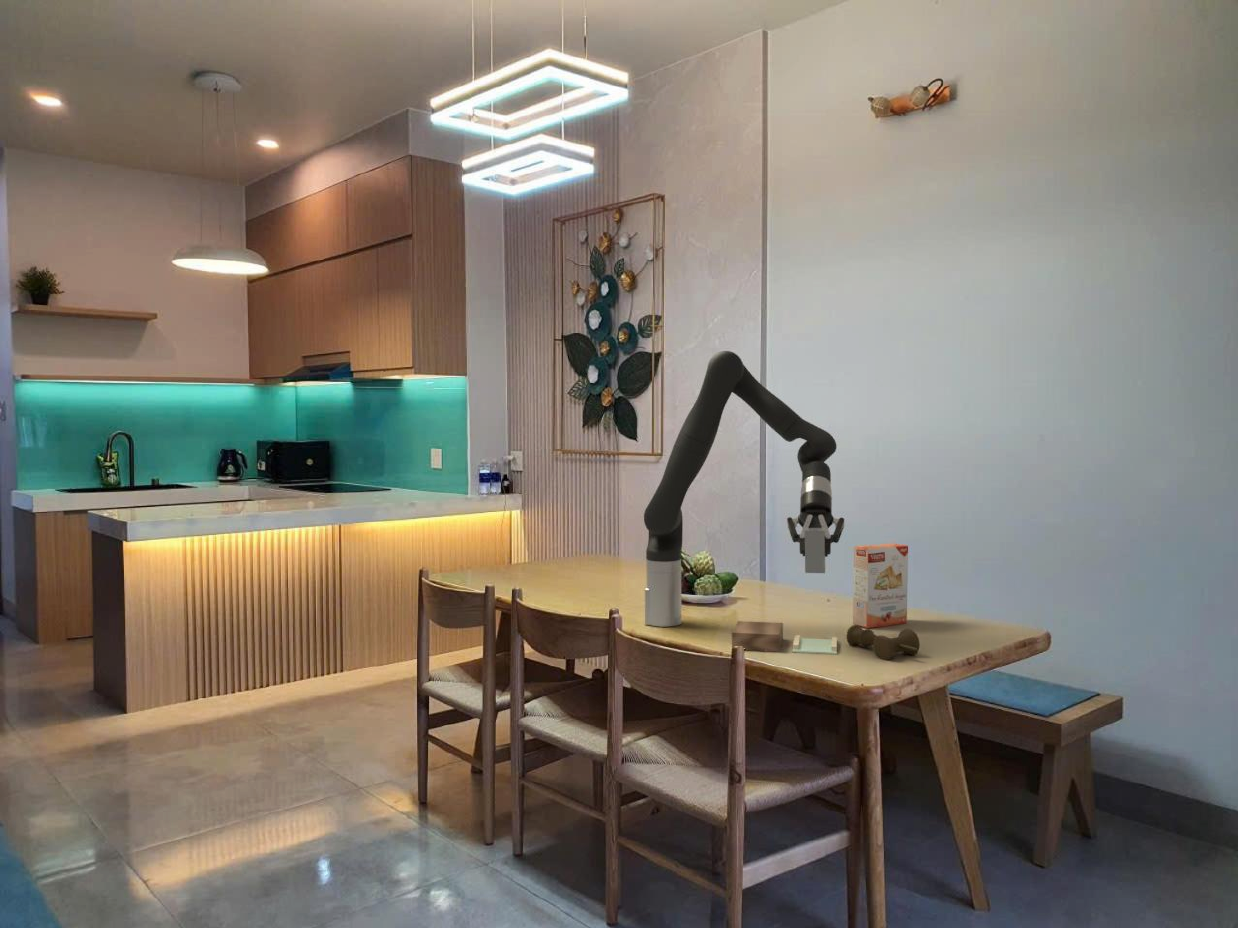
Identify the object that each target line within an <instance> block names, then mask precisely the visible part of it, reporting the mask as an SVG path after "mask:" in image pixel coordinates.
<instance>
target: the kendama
mask: <svg viewBox="0 0 1238 928" xmlns="http://www.w3.org/2000/svg"><path fill="white" fill-rule="evenodd" d="M846 640H847V641H846V642H847V643H848V645H849V646H852V647H855V646H856V647H857V646H861V647H863V648H866V649H867V648H870V647H871V646H872V648H873V652H874V654H875V655H874V656H876V658H878V659H881V660H883V661H888V660H890V659H891V658H892V657H893V655H895V654H896V653H904V654H906V655H908V656H915V655H917V654H918V652H919V650H920V644H921V643H920V639H919V636H918V635H917V633H916V632H915V631H914V630H912V629H910V628H909V629H908V628H904V629H903V630H901V631H900V632H899V634H898V636H895V637H889V636H886V635H876V634H875V633H874V631H873V630H871V629H870V628H865V629H863V627H861V626H858V625H855V624H853V625H851V626H850V627H848V629H847V632H846Z"/></svg>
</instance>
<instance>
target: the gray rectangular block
mask: <svg viewBox="0 0 1238 928" xmlns="http://www.w3.org/2000/svg"><path fill="white" fill-rule="evenodd" d="M825 573H826V557H825V528H805V556H804V574H825Z"/></svg>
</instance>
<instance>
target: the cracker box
mask: <svg viewBox="0 0 1238 928" xmlns="http://www.w3.org/2000/svg"><path fill="white" fill-rule="evenodd" d="M853 555H854V556H853V605H852V606H853V607H852V609H853V611H852V612H853V613H852V620H853V621H852V623H853V624H852V625H858V626H860V627H861V628H864V629H870V628H871V629H872V628H879V627H886V626H893V625H894V626H895V625H902V624H907V623H908V581H909V579H908V576H909V574H908V572H909V571H908V570H909V568H908V567H909V545H906V544H902V543H896V542H894V543H891V542H890V543H881V544H869V545H866V544H865V545H855V546H854V548H853Z"/></svg>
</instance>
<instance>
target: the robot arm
mask: <svg viewBox="0 0 1238 928" xmlns="http://www.w3.org/2000/svg"><path fill="white" fill-rule="evenodd" d="M703 379H704V380H703V382H702V385H701V388H700V391H699V394H698V395H697V397H696V400H695V402H694V404H693V406H692V407H691V409H690V411H689V412H688V414H687V416H686V418H685V420H684V422H683V424H682V426H681V427H680V430H679V433H678V434H677V437H676V439H675V442H674V444H673V447H672V451H671V452H670V455H669V458H668V460H667V464H666V466H665V470H664V473H663V476H662V478H661V481H660V482H659V485H658V487H657V488H656V490H655V492H654V494H653V496H652V497H651V499H650V500H649V503H648V505H647V506H646V508H645V510H644V513H643V521H644V526H645V527H646V530H648V542H647V547H646V551H645V552H646V554H645V557H646V564H645V565H646V588H645V589H644V626H645V625H647V626H651V627H652V626H653V627H661V628H662V627H665V628H666V627H676V626H679V625H681V624H682V615H683V614H682V549H683V524H684V523H683V520H684V519H683V511H682V506H683V503H684V499H685V498H686V494H687V493H688V491H689V488H690V486H691V485H692V483H693V482H694V481H695V479H696V477H697V476H698V474H699V473H700V471H701V469H702V467H703V466H704V464H705V462H706V461H707V458H708V456H709V455H710V451H711V449H712V446H713V445H714V442H715V439H716V436H717V434H718V430H719V427H720V423H721V420H722V415H723V413H724V410H725V407H726V405H727V403H728V401H729V399H730V397H731V396H732V394H734V395H735V396H737V397H738V398H739V399H740V400H742V401H743V402H745V404H747V405H748V407H750V408H751V409H752V410H753V412H755V413H756V414H757V416H759V417H760V418H761V420H762V421H764V422H765V423H766V424H767V425H768V426H769V428H771V429H772V430H773V431H774V432H775V433H776V434H778V435H779V436H780V437H781V438H782V439H784V441H786V442H790V443H791V442H794V441H795V440H797V439H801V440H804V441H805V442H803V444H802V445H801V446H800V447H799V449H798V450H797V455H796V456H797V462H798V465H799V468H800V471H801V473H802V474H801V476H802V477H801V487H800V502H799V504H800V507H799V515H798V516H797V517H796V518H792V516H791V517H787V518H786V523H787V528H788V530H789V534H790V537H791V541H792V542H793V543H799V554H800V555H802V557H805V528H825V558H827V557H828V556H829V555H831V553H832V551H831V545H832V543H834V544H838V543H839V541H840V538H841V536H842V533H843V530H844V528H845V519H844V518H843V517H840V518H836V517H835V518H834V516H833V513H832V510H833V509H832V507H833V504H832V502H833V501H832V500H833V495H832V494H833V493H832V486H831V484H832V483H831V482H832V481H831V480H832V479H831V469H830V466H829V465H828V464H827V463H826V461H827V460H828V459H829V458H830V457H832V456H833V454H835V453H836V450H837V446H838V445H837V443H836V440H835V438H834V437H833V435H832V434H830V433H829V432H828V431H827V430H824V429H822V428H821V427H819V426H816V425H815V424H813V423H811V422H809V421H807V420H805V419H803V418H802V416H800V415H799V414H798V413H796V412H795V411H794V410H793V409H792V408H791V407H790V406H788V405H787V403H785V402H784V401H782V400H781V399H780V398H779V397H778V396H776V394H774V393H772V392H771V391H769V390H768V389H767V388H766V387H765V386H764V385H762V383H760V381H758V380H757V379H756V378H755V376H753V374H752V373H751V372H750V370H748V368H747V367H746V366H745V364H744V363H743V361H742V359H741V356H739V355H738V354H737V353H735V352H733V351H730V350H722V351H719V352H716V353H715V354H714V355H713V356H712V357H711V358H710V360H709V362H708V365H707V369H706V372H705V375H704V378H703ZM798 524H799V525H800V526H801V527H802V529H801V532H800V533H799V534H798V532H797V527H798V526H797V525H798ZM832 525H834V528H835V530H834V532H833V534H830V530H829V528H830V527H831V526H832Z"/></svg>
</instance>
